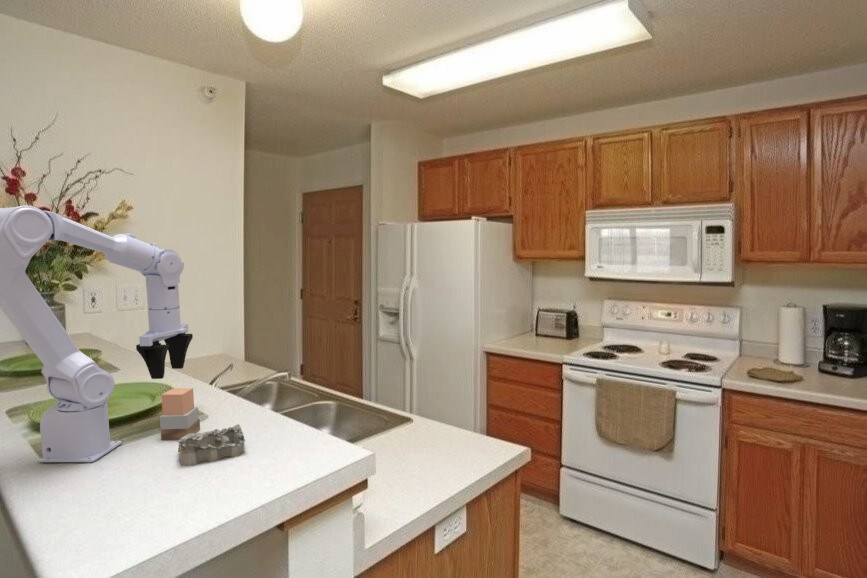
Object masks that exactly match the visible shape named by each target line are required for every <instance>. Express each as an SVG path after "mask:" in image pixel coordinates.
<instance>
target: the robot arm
mask: <svg viewBox="0 0 867 578" xmlns="http://www.w3.org/2000/svg"><path fill="white" fill-rule="evenodd" d="M136 237H137V236H136V235H135V234H133V233H130V232H127V233H126V232H125V233H117V234H116V235H113V236H110V235H108V234H106V233H103V232H101V231H99V230H96V229H94V228H91V227H89V226H87V225H84V224H82V223H79V222H77V221H74V220H72V219H70V218H68V217H65V216H63V215H60V214H58V213H56V212H54V211H48V210H42V209H40V208H38V207H36V206H32V205H19V206H13V207H0V310H1V311H2V312H3V313H4V315H5V316H6V317H7V319H8V320H9V321H10V323H11V324H12V325H13V327H15V329H16V331H17V332H18V333H19V334H20V335H21V336H22V338H23V340H24V341H25V342H26V344H27V345H28V346H29V348H30V349H31V350H32V352H33V353H34V354H35V356H37V358H38V359H39V361H40V362H41V363H42V365H43V366H42V369H41V374H42V375H43V376H44V379H45V381H46V389H47V391H48V393H49V395H50V396H51V397H53V398H54V399H55V401H56V404H54V405H51V406H50V407H48V408H47V409H45V411H44V412H43V413H42V416H41V419H40V422H39V430H40V431H39V433H40V434H39V435H40V442H41V443H40V444H41V453H42V456H41V457H40V458H39V459H38V462H39V463H93V462H96V461H97V460H98V459H101V458H102V457H103V456H104V455H106V454H108V453H109V452H111V451H112V450H113V449H116V448H117V447H119V446H120V445H121V444H122V443H123V441H122V440H111V436H110V422H109V412H108V411H109V410H108V403H109V398H111V396H112V395H113V393H114V390H115V379H114V377H113V375H112V374H111V373H110V372H108V371H107V370H104V369H102V368H101V367H100V366H98V364H97V363H96V361H95V360H93V359H92V358H91V357H89V356H88V355H86V354H85V353H84V352H82V351H81V350H80V349H79V348H78V346H77V345H76V343H75V342H74V340H73V339H72V338H71V337H70V335H69V333H68V332H67V330H66V329H65V328H64V326H63V325H62V324H61V322H60V321H59V320H58V318H57V317H56V315H55V314H54V312H53V310H52V309H51V308H50V306H49V305H48V303H47V302H46V301H45V299H44V297H43V296H42V295H41V293H40V292H39V291H38V289H37V288H36V286H35V285H34V283H33V282H32V281H31V279H30V278H29V276H28V275H27V273H26V270H27V268H28V266H29V264H30V262H31V259H32V257H33V256H35V254H36V253H37V252H38V251H39V250H40V249H41V248H42V247H43V246H45V244H47V242H48V241H51V242H52V241H53V242H54V241H61V242H65V243H68V244H73V245H76V246H78V247H82V248H86V249H89V250H92V251H96V252H100V253H103V254H104V257H105V259H106V260H107V262H108V263H111V264H114V265H117V266H120V267H124V268H127V269H131V270H133V271H136V272H140V274H141V275H142V277H143V276H144V277H145V284H146V285H145V289H146V300H147V318H148V319H147V320H148V330H147V331H146V332H145V333H143V334H141V335H139V336H138V339H139V343H138V344H136V345H135V347H136V352H138V354H139V355H140V356H141V357H142V359H143V361H144V362H145V364H146V365H145V366H146V368H147V370H148V372H149V375H150V378H151V380H162V379H164V377H165V372H166V371H165V370H166V369H165V368H166V358H167V353H168V355H169V356H168V357H169V362H170V366H171V369H173V370H174V369H175V370H177V369H179V370H181V369H183V368H184V366H185V362H186V357H187V353H188V352H187V351H188V348H189V345H190V344H191V341H192V340H193V338H194V336H193V333H188V332H189V323H188V322H187V323H186V322H185V323H181V322H182V321H181V309H180V294H179V293H180V292H179V283H180V282H181V281H180V278H181V274H182V273H183V271H184V268H185V263H184V262H183V261H182V258H181V256H180V255H179V254H178V252H176V251H175V250H173V249H163V248H162V249H160V247H158V244H157V243H154V242H150V243H148V242H145V241H142V240H140V239H137V238H136ZM162 341H164V342H165V344H162V343H161V342H162Z"/></svg>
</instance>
